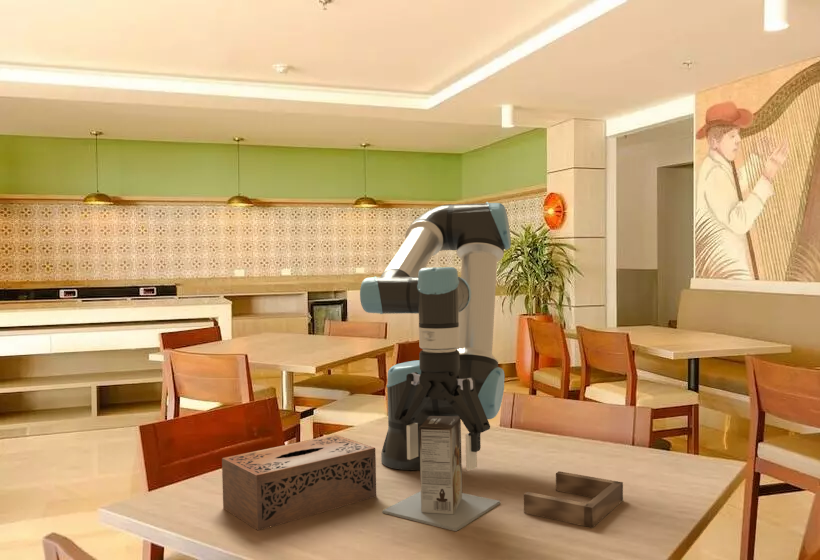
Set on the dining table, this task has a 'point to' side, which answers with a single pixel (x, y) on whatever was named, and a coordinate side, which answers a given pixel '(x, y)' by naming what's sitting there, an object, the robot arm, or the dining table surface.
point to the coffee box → (440, 464)
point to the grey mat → (463, 515)
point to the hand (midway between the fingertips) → (441, 463)
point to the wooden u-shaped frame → (575, 512)
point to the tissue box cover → (297, 480)
